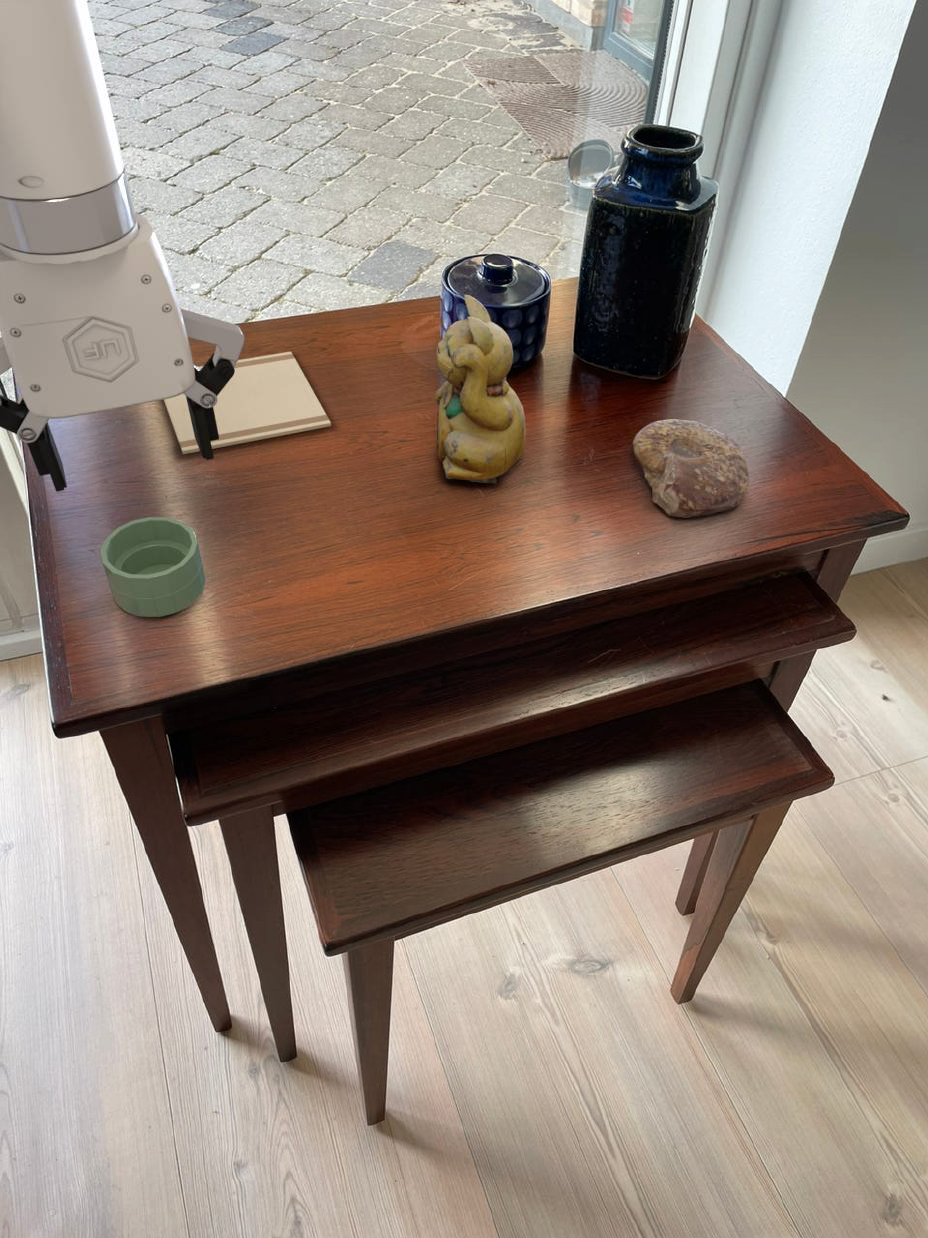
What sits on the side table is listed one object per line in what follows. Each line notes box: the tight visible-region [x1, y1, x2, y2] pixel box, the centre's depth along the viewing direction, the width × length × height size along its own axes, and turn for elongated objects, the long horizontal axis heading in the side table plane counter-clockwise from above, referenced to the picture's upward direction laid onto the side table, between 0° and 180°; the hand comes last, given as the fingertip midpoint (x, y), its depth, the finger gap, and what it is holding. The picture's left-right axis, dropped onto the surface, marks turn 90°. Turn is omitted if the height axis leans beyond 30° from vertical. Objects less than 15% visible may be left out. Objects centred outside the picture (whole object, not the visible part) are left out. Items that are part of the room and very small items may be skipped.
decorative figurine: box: [434, 294, 527, 485], centre depth 77 cm, size 10×8×15 cm
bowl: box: [99, 516, 207, 618], centre depth 68 cm, size 7×7×4 cm
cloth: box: [163, 351, 332, 455], centre depth 88 cm, size 14×14×1 cm
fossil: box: [632, 418, 750, 519], centre depth 81 cm, size 13×5×10 cm
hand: (133, 463), depth 61 cm, fingers open, 9 cm apart
